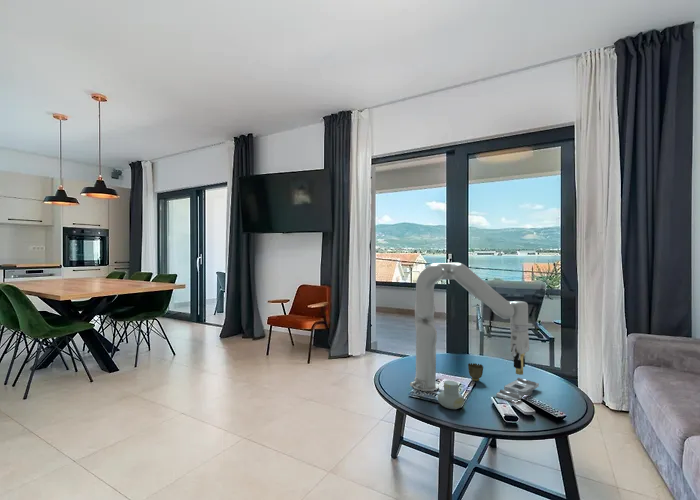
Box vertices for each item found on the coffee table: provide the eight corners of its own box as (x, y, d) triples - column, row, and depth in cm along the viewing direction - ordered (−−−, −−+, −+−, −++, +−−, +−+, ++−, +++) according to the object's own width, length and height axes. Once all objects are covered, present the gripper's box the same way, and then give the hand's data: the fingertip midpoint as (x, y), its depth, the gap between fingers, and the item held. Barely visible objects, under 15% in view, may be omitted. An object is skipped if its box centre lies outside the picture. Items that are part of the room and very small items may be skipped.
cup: (484, 384, 174) (484, 367, 174) (468, 382, 176) (469, 366, 176) (481, 378, 182) (482, 363, 182) (467, 377, 183) (467, 362, 183)
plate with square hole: (516, 403, 152) (516, 393, 152) (496, 396, 159) (496, 387, 159) (538, 389, 168) (538, 381, 168) (519, 384, 175) (519, 376, 175)
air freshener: (452, 400, 155) (452, 377, 155) (467, 407, 148) (467, 383, 148) (434, 405, 149) (434, 382, 149) (449, 413, 142) (449, 388, 142)
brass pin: (522, 375, 160) (522, 354, 160) (512, 373, 164) (512, 352, 164) (526, 373, 163) (526, 352, 163) (516, 371, 167) (516, 350, 167)
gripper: (519, 331, 156) (519, 373, 155) (534, 326, 166) (535, 365, 166) (503, 329, 161) (503, 368, 161) (518, 324, 172) (518, 361, 172)
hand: (519, 366), depth 164 cm, fingers closed on brass pin, 3 cm apart
